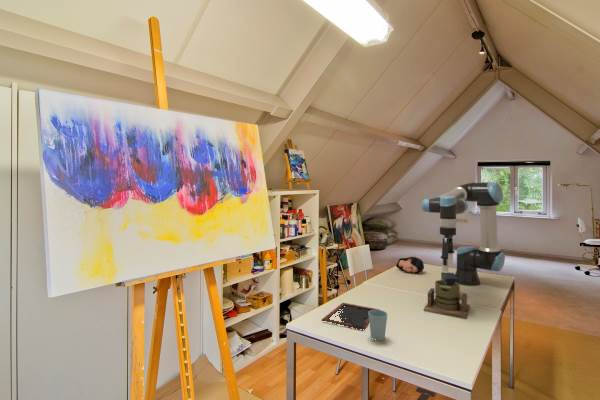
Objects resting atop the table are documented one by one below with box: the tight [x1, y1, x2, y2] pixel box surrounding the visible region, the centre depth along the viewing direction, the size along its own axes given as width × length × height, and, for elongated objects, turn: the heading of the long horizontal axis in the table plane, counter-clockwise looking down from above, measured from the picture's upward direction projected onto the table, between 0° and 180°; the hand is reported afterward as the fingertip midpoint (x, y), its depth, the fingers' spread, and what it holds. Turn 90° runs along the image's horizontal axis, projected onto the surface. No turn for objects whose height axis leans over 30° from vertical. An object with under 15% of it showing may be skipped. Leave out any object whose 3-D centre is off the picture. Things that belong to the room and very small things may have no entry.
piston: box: [434, 279, 461, 311], centre depth 166 cm, size 11×12×11 cm
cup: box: [368, 309, 388, 341], centre depth 135 cm, size 8×8×10 cm
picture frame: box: [321, 302, 381, 330], centre depth 157 cm, size 20×2×25 cm
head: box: [395, 256, 425, 275], centre depth 237 cm, size 12×13×20 cm
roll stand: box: [423, 287, 471, 320], centre depth 166 cm, size 18×19×8 cm
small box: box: [440, 272, 459, 286], centre depth 185 cm, size 13×7×12 cm, turn 168°
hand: (447, 268), depth 165 cm, fingers open, 13 cm apart
